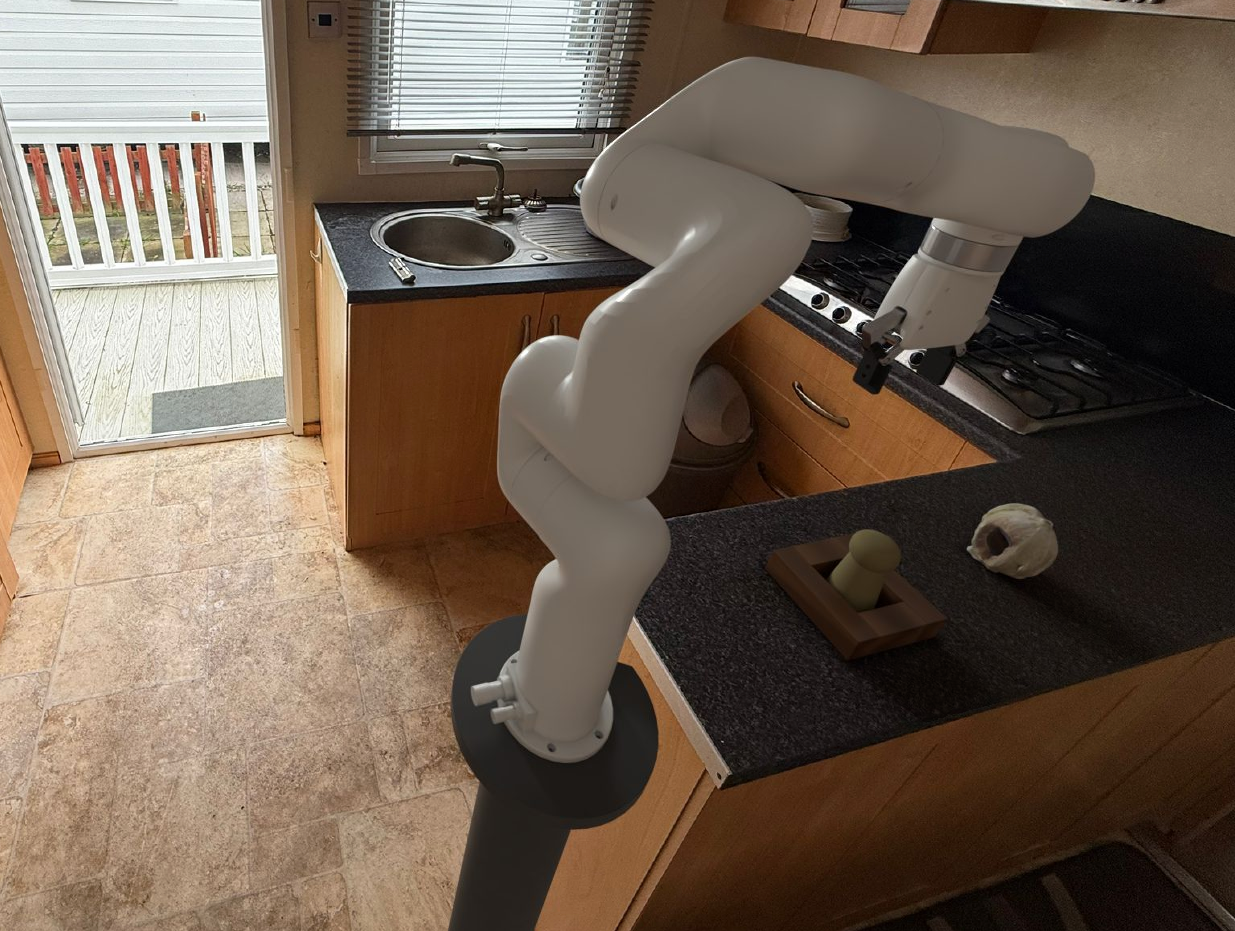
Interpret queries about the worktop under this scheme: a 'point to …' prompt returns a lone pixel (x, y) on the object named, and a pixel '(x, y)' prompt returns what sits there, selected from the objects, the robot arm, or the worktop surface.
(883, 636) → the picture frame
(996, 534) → the cream hollow round shell
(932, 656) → the worktop surface
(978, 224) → the robot arm
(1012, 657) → the worktop surface
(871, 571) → the cork
